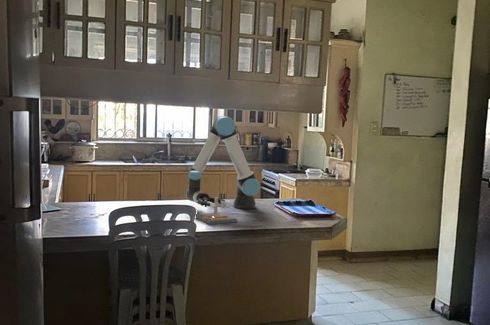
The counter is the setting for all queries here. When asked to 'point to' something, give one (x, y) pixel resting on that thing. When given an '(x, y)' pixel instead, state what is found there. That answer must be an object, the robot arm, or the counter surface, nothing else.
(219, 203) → the pipe connector
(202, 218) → the plate
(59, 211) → the counter surface
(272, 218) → the counter surface
